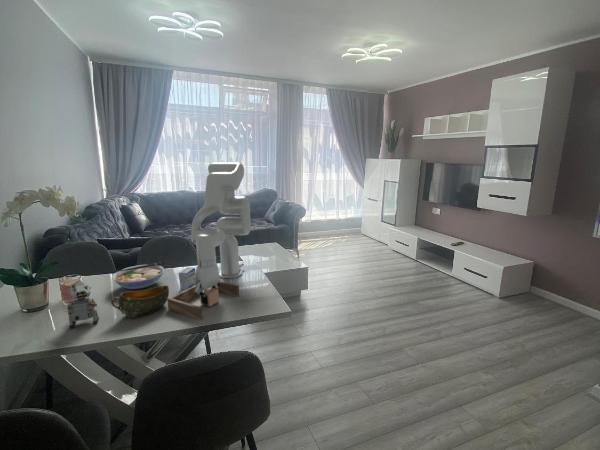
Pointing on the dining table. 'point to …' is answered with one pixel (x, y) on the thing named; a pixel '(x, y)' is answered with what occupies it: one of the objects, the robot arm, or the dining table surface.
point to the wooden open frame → (180, 299)
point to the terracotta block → (212, 296)
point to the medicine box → (187, 278)
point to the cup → (142, 301)
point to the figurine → (81, 305)
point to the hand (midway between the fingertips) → (209, 300)
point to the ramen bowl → (138, 276)
